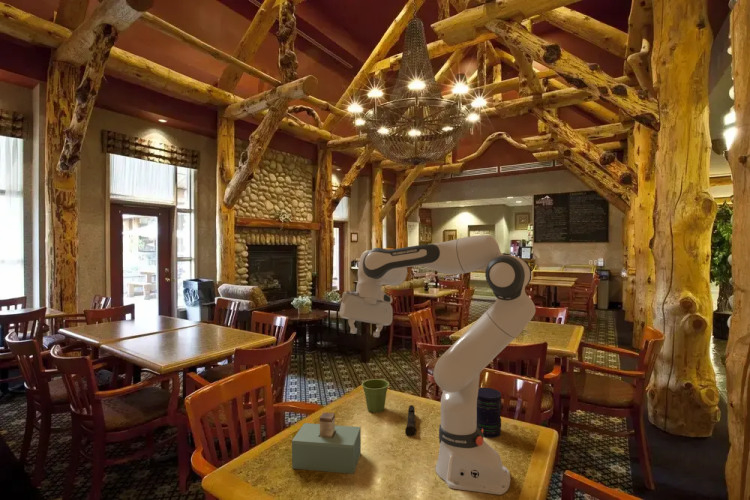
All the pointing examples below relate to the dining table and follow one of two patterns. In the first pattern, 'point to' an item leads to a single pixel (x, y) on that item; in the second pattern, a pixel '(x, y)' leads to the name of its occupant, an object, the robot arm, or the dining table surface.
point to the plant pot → (375, 394)
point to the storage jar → (489, 412)
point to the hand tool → (411, 422)
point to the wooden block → (327, 425)
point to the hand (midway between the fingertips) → (365, 335)
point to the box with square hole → (326, 449)
